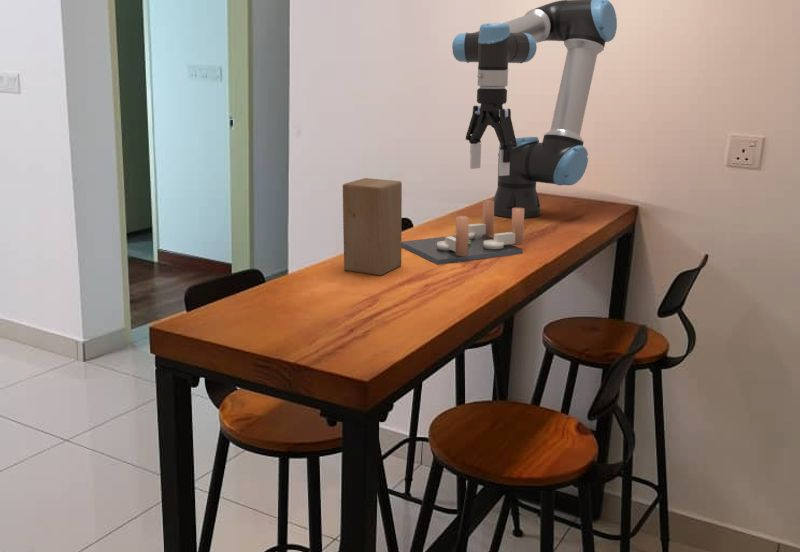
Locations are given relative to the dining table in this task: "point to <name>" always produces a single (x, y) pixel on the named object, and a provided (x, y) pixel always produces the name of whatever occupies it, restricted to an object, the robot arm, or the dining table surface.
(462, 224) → the knob
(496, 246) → the knob
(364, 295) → the dining table surface
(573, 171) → the robot arm
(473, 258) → the base plate
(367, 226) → the wooden block
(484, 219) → the knob
